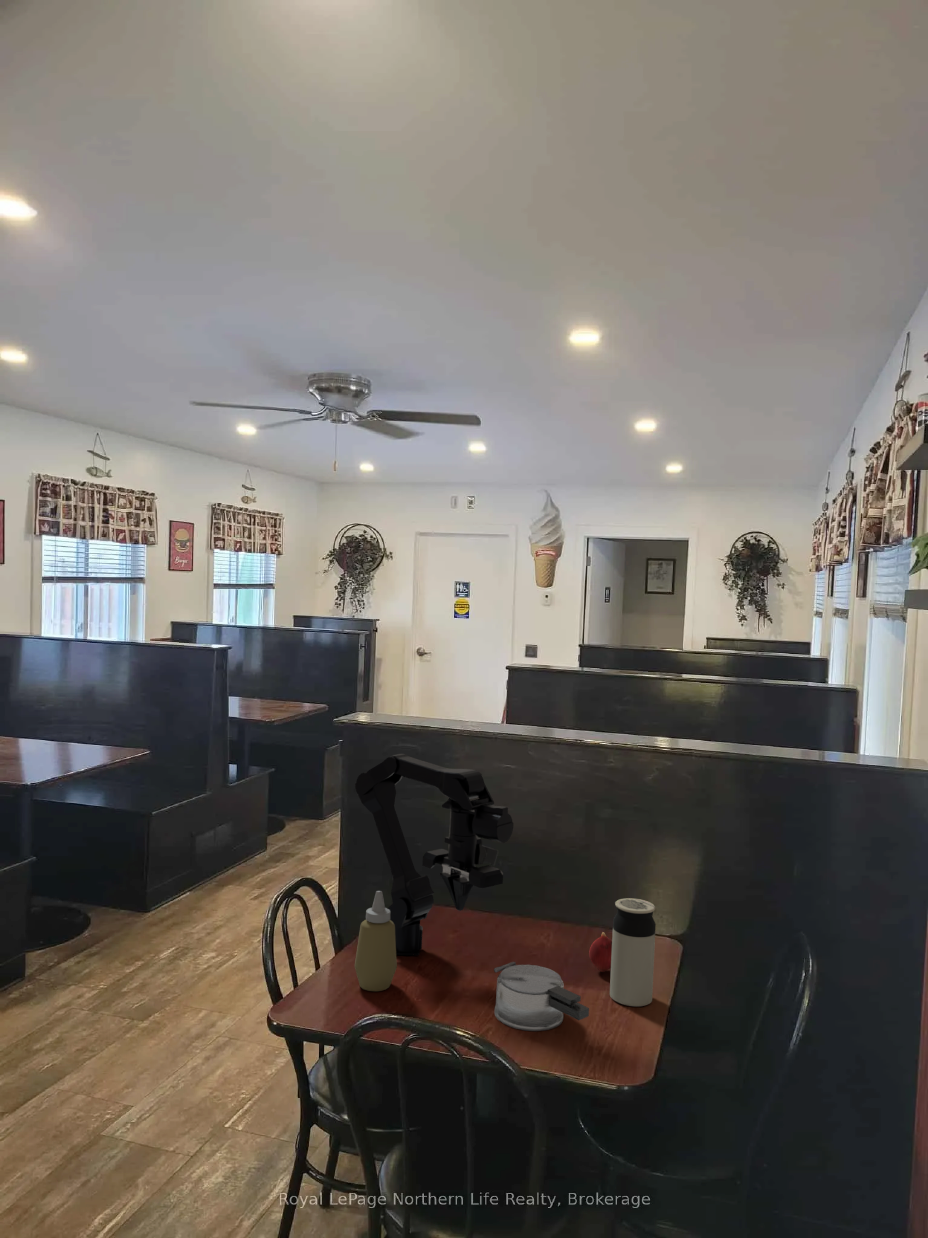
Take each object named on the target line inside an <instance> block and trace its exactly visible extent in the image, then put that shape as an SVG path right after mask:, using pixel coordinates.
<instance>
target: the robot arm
mask: <svg viewBox="0 0 928 1238" xmlns="http://www.w3.org/2000/svg"><path fill="white" fill-rule="evenodd" d="M403 777H404V778H406V779H410V780H413V781H416V782H419V783H421V784H425V785H428V786H431V787H434V788H435V789H437V790H439V791H440V793H441V794H442V795H443V796H445V797H447V798H448V799H447V800H446V801H445V802H444V803H442V804H441V808H442V809H446V810H449V811H450V812H449V831H448V832H449V833H448V836H445V837H444V844H445V843H446V844H448V850H447V849H444V848H438V849H434V850H429V851H426V852H425V853H424V854H423V856H422V863H421V865H422V866H423V867H426V868H427V869H433V868H434V867H435V866H436V864H438V865H441V866H442V872H441V873H439V877H441V878H442V880H443V882H444V884H445V886H446V888H447V890H448V893H449V895H450V897H451V899H452V902H453V904H454V907H455V909H456V910H457V911H459V912H460V911H463V910H464V908H465V905H466V903H467V900H468V898H469V896H470V893H471V891H472V889H473V887H477V888H479V889H486V888H489V887H494V886H498V885H502V884H503V881H504V872H503V871H502V870H501V869H500V868H497V867H495V865H496V862H497V858H498V855H499V850H498V849H494V848H492V847H489V846H485V845H483V839H485V840H489V841H493V842H498V843H503V844H504V843H507V842H508V841H509V840H510V839H511V838H512V834H513V832H514V822H513V819H512V818H513V817H512V816H511V814H510V813H509V808H508V806H503V805H501V806H499V805H495V801H494V800H493V798H492V797H493V796H492V795H491V794H490V792H489V790H488V788H487V785H486V783H485V781H484V777H483V775H482V773H481V772H480V771H478V770H477V769H469V768H447V767H444V766H441V765H438V764H434V763H431V762H427V761H424V760H421V759H419V758H418V759H417V758H415V757H411V756H409V755H407V754H405V753H398V754H393V755H392V754H391V755H389V756H388V757H386V758H385V759H384V760H383V761H381V762H380V763H378V764H377V765H376V766H374V767H372V768H369V769H368V770H367V771H365V772H362V773H360V774H359V775H358V776H357V778H356V781H355V782H354V788H355V792H356V794H357V796H358V799H359V800H360V802H361V804H362V805H363V807H365V808H366V810H367V811H368V812H370V813H371V815H372V817H373V821H374V823H375V826H376V828H377V832H378V835H379V836H378V837H379V838H380V842H381V844H382V847H383V851H384V854H385V858H386V860H387V863H388V866H389V869H390V872H391V875H392V885H391V889H390V890H391V891H390V896H391V900H392V903H391V904H390V905H389V906H388V907H386V908H387V909H389V910H390V920H391V921H392V922H393V923H394V925H395V941H396V956H397V955H398V956H420V951H421V950H422V949H423V948H422V947H423V926H422V925H421V920H425V919H427V917H428V914H429V912H430V911H431V910H432V908H433V904H434V899H435V898H434V894H435V891H434V890H433V889H432V886H431V882H430V878H429V876H428V875H423V876H421V874H420V873H418V871H416V869H415V865H414V862H413V859H412V856H411V853H410V850H409V847H408V844H407V841H406V838H405V836H404V832H403V829H402V825H401V823H400V821H399V818H398V817H399V816H398V814H397V811H396V809H395V803H396V798H397V791H396V785H397V784H398V783H399V782H400V781H401V780H402V779H403ZM475 798H476V799H475ZM484 863H488V865H484ZM489 864H490V865H489ZM476 865H478V866H476ZM480 865H484V866H480Z"/></svg>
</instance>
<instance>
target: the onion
mask: <svg viewBox="0 0 928 1238" xmlns="http://www.w3.org/2000/svg"><path fill="white" fill-rule="evenodd" d="M600 935H601V936H599V937H597V938H596V939H595V940H594V941H593V942H592V943H591V945H590V947H589V950H588V951H589V952H588V956H589V960H590V961H591V962H590V963H592V964H593V966H594V967H595V968H596V969H597V970H598V971H599V972H601V973H605V972H606V971H608V970H611V956H612V939H611V938H609V937H608V936H607V934H606V933H605V932H603V931H602V932H601V934H600Z"/></svg>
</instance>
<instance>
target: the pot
mask: <svg viewBox="0 0 928 1238" xmlns="http://www.w3.org/2000/svg"><path fill="white" fill-rule="evenodd" d="M500 975H501V973H499V974H498V976H497V979H496V998H495V1006H494V1016H495V1018H496V1019H497V1020H498V1021H499V1022H500V1023H502V1024H503V1025H505V1026H507V1027H510V1028H511V1029H516V1030H521V1031H527V1032H543V1031H548V1030H552V1029H555V1028H557V1027H559V1026H560V1025H561V1024H562V1022H564V1021H563V1020H564V1014H565V1015H567V1016H569V1017H571V1018H573V1019H575V1020H576V1021H581V1020H583V1019H585V1018H588V1017H589V1016H590V1008H589V1007H588V1006H587V1005H586V1006H585V1005H584V1004H581V1003H579V1002H577V1003H574V1004H572V1005H570V1004H567V1003H565V1002H563V1001H561V1000H559V999H557V998H555V997H553V996H551V995H549V994H544V995H528V994H522V993H518V992H515V991H512V990H510V989H508V988H506V987H505V986H504V985H502V983H501V981H500ZM561 987H562V988H564V981H563V980H562V979H561ZM564 989H565V988H564Z"/></svg>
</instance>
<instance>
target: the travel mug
mask: <svg viewBox="0 0 928 1238" xmlns="http://www.w3.org/2000/svg"><path fill="white" fill-rule="evenodd" d="M614 904H615V907H616V913H615V915H614V917H613V918H612V919H613V920H612V937H611V938H612V939H611V940H612V956H611V969H610V983H609V996H610V998H611V999H612V1000H613V1001H615V1002H616V1003H618V1004H620V1005H623V1006H628V1007H637V1008H638V1007H643V1006H647V1005H649V1004H651V1003H652V1002H653V990H654V989H653V987H654V969H655V968H654V967H655V946H656V945H655V943H656V927H657V926H656V925H657V923H656V920H655V919H654V917H653V914H654V911H655V910H656V906H655V905H654V904H653V903H652V902H650V901H647V900H644V899H640V898H631V897H630V898H629V897H628V898H626V897H625V898H620V899H618V900H616V901H615V902H614Z"/></svg>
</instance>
